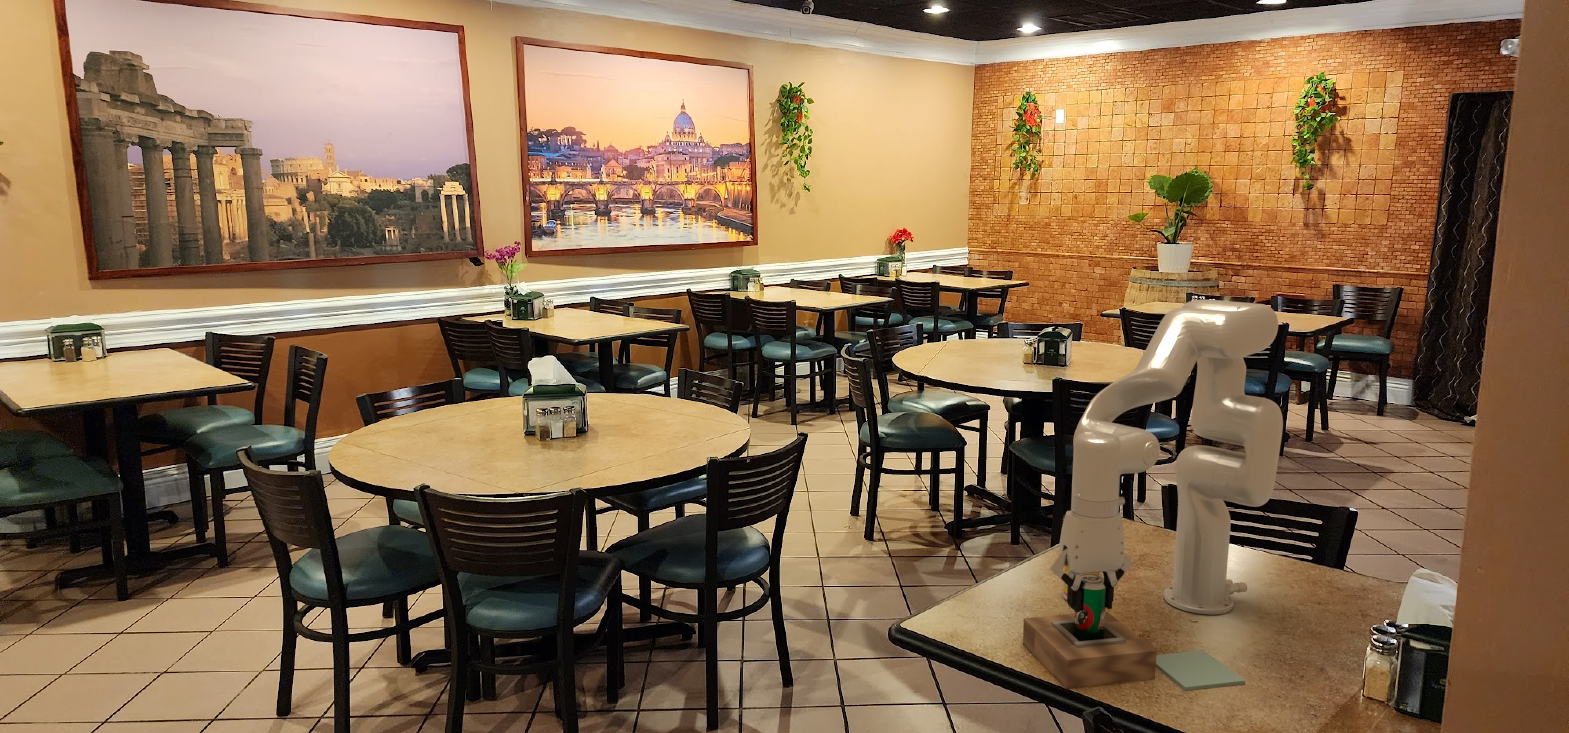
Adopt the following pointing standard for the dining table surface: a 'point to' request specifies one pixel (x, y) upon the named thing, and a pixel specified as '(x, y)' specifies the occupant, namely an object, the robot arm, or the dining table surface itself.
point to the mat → (1196, 670)
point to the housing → (1089, 652)
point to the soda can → (1091, 609)
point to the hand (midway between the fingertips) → (1089, 606)
